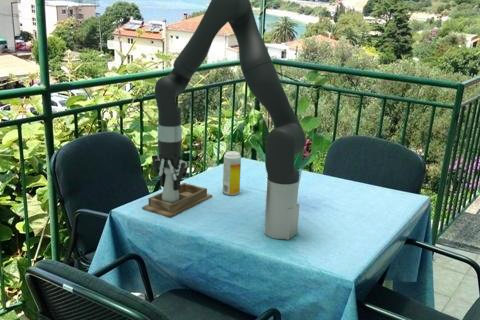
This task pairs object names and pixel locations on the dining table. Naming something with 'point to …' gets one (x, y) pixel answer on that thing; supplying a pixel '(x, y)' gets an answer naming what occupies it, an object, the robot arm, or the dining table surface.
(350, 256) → the dining table surface
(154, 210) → the slot caddy
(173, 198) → the salt shaker
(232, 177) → the white yellow canister
